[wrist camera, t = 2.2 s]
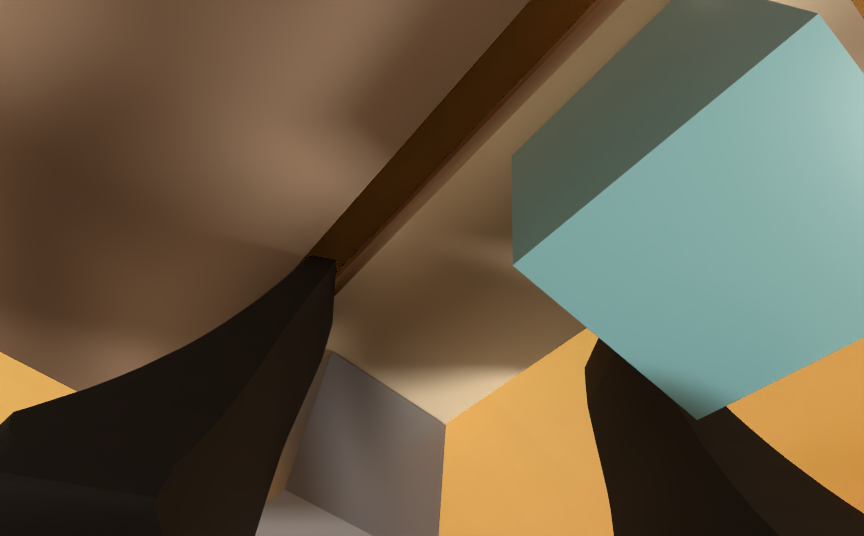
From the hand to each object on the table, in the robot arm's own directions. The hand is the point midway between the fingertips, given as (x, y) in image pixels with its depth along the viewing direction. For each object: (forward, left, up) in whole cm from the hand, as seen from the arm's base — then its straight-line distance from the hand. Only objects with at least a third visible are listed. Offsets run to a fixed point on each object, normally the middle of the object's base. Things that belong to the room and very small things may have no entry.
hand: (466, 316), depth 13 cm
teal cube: (0, -6, 0) cm, 6 cm away
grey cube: (0, +5, 0) cm, 5 cm away
